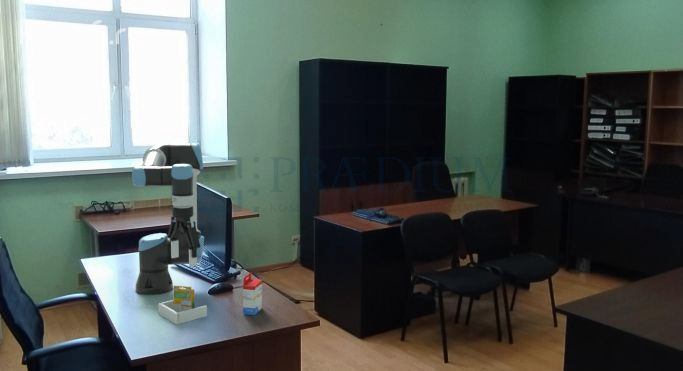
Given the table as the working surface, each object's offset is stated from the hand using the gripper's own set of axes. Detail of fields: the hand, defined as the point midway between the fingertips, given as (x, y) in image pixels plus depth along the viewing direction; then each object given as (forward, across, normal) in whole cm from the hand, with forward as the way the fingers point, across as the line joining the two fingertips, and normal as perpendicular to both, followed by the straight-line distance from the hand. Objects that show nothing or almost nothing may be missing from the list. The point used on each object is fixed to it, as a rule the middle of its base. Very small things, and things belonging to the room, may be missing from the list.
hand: (183, 261), depth 218 cm
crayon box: (+21, 0, 0) cm, 21 cm away
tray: (+21, 0, -1) cm, 21 cm away
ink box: (+21, +14, +21) cm, 33 cm away
